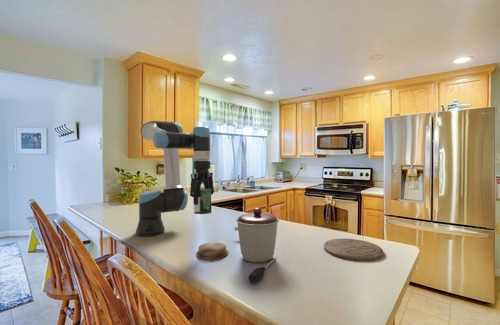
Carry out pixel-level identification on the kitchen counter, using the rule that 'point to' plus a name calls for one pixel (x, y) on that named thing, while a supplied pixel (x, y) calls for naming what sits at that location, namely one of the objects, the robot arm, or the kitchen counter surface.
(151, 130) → the robot arm
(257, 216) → the canister
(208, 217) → the kitchen counter surface
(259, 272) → the screwdriver
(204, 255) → the pedestal
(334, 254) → the trivet
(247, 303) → the kitchen counter surface
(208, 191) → the canned tomato
